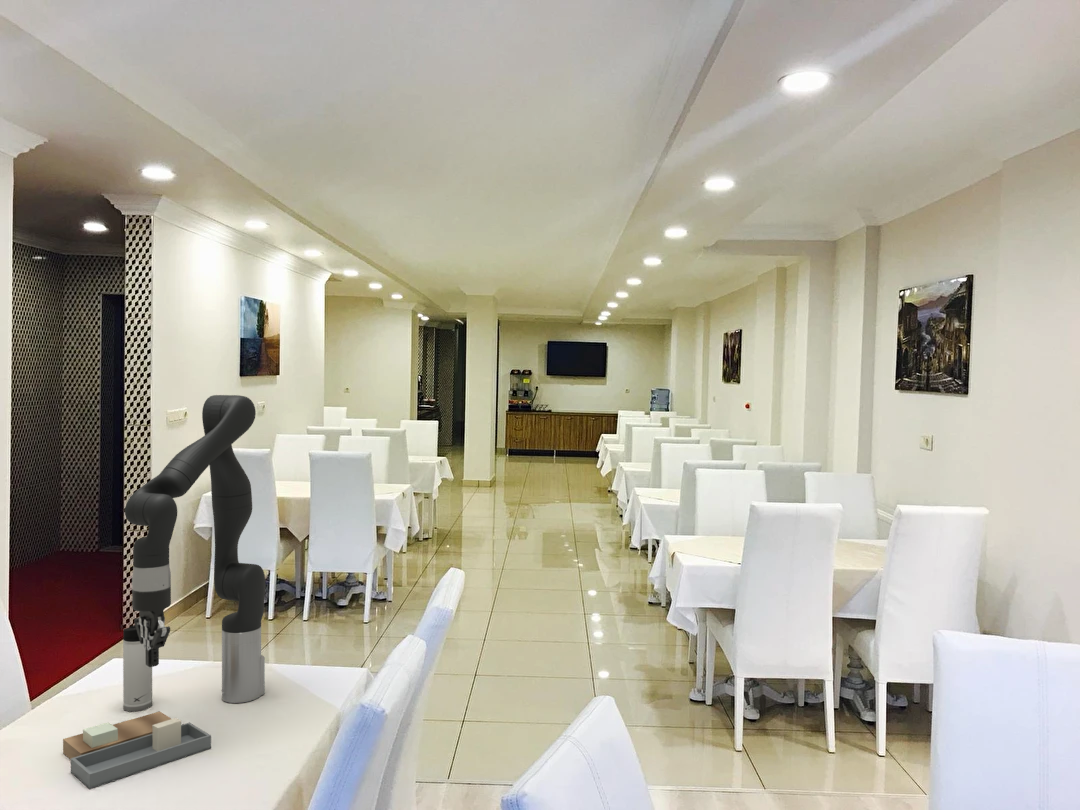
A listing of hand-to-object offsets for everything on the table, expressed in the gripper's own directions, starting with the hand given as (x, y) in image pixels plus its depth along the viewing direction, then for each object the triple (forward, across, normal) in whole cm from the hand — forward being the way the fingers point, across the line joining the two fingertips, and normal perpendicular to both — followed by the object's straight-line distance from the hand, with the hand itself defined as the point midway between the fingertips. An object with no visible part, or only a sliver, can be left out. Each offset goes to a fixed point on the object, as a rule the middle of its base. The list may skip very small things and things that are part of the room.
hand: (152, 665), depth 176 cm
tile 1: (+14, +2, +10) cm, 17 cm away
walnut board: (+17, +4, +5) cm, 18 cm away
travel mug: (+17, +23, -6) cm, 29 cm away
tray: (+17, -7, +5) cm, 19 cm away
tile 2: (+14, -4, -1) cm, 14 cm away
